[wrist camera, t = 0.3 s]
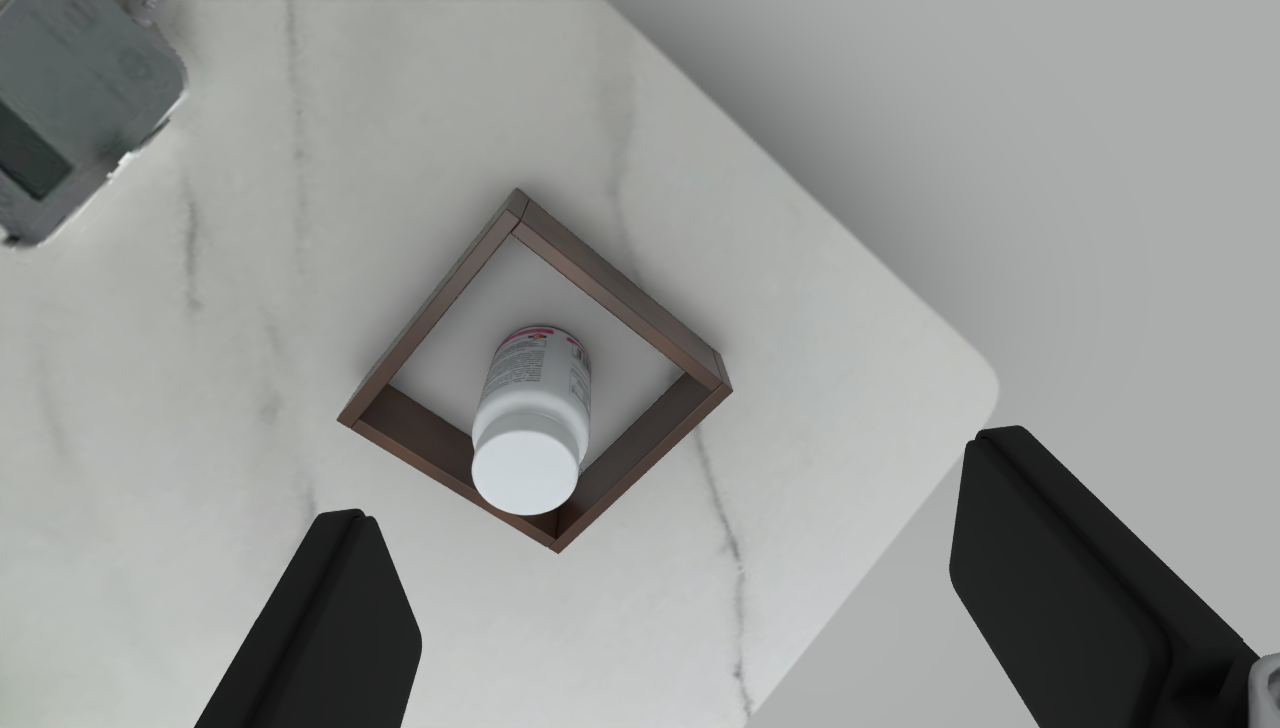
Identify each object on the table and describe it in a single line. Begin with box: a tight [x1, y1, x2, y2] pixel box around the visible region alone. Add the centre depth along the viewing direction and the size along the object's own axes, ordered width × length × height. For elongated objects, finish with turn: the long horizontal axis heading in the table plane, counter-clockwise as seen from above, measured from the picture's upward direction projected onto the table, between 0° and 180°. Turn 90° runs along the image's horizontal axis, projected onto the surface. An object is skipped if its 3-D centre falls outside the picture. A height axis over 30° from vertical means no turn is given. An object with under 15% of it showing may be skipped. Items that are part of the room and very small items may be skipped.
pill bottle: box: [472, 327, 591, 515], centre depth 28 cm, size 5×5×8 cm
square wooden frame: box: [337, 188, 733, 554], centre depth 31 cm, size 12×12×4 cm
